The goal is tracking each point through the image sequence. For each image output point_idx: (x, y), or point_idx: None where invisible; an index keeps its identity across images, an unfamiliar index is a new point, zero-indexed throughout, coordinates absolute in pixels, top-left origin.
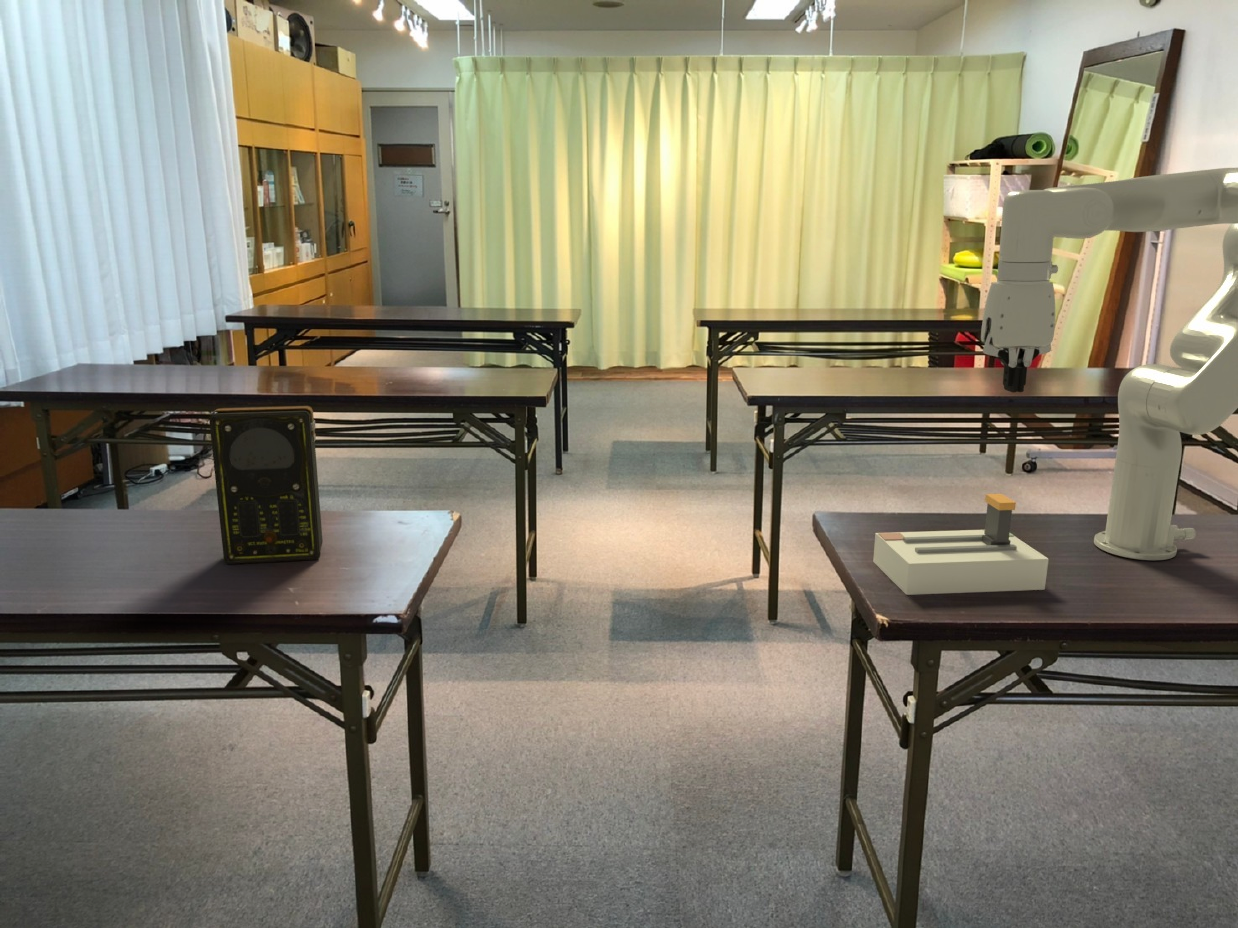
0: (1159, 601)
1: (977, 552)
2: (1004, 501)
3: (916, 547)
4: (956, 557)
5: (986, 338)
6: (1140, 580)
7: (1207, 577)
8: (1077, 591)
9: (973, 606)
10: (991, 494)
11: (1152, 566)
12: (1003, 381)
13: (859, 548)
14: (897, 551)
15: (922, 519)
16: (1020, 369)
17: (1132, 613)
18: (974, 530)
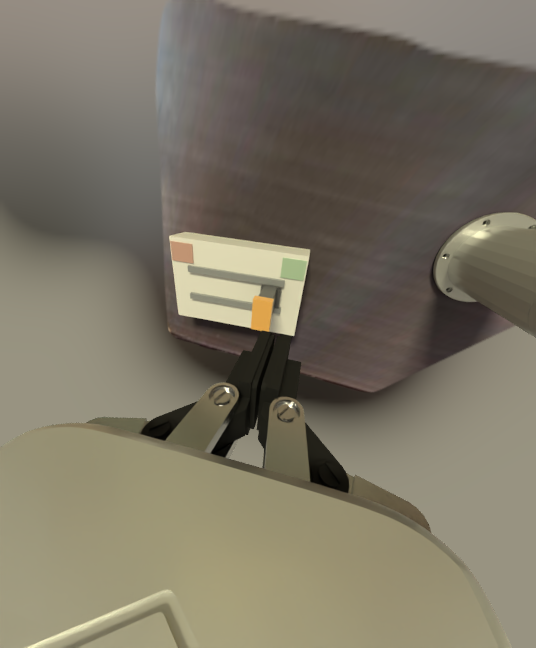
0: (363, 360)
1: (243, 308)
2: (258, 326)
3: (196, 283)
4: (220, 313)
5: (37, 447)
6: (390, 328)
7: (457, 339)
8: (318, 331)
9: (228, 331)
10: (259, 301)
11: (438, 306)
12: (241, 355)
13: (181, 188)
14: (177, 288)
15: (304, 64)
16: (257, 428)
17: (325, 367)
18: (274, 252)
